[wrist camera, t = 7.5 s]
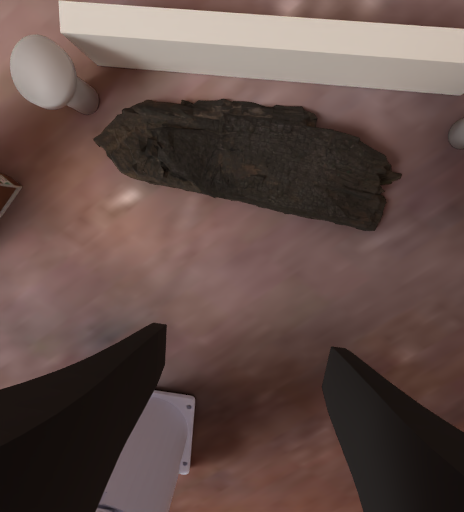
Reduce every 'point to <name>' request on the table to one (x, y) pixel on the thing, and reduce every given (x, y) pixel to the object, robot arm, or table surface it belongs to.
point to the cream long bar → (238, 52)
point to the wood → (252, 158)
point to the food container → (7, 192)
